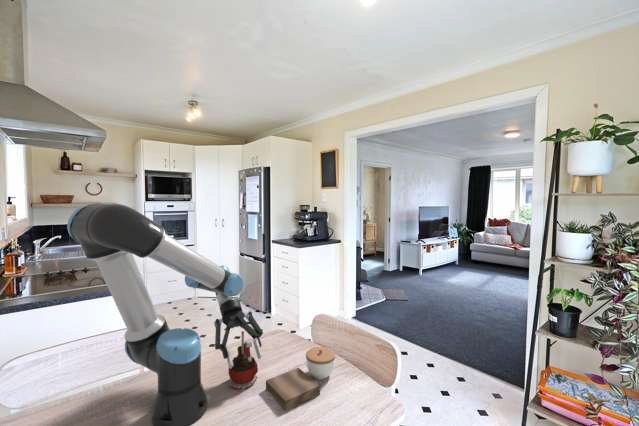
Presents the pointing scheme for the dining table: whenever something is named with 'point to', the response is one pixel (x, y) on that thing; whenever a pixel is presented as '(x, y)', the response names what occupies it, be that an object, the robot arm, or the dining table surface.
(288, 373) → the plinth
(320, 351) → the lidded jar
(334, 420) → the dining table surface
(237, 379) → the cake
